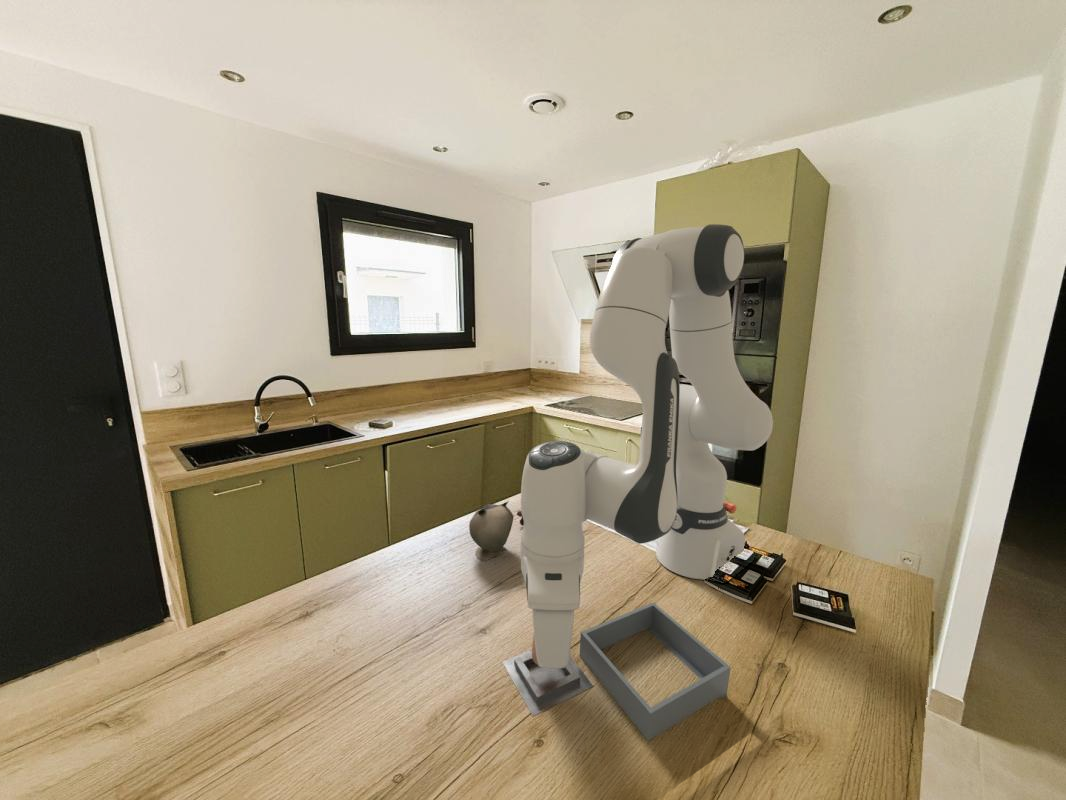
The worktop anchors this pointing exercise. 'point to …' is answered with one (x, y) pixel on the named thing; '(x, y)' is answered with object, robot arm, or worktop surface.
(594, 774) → the worktop surface
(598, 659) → the slate tray
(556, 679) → the socket plate
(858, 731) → the worktop surface
